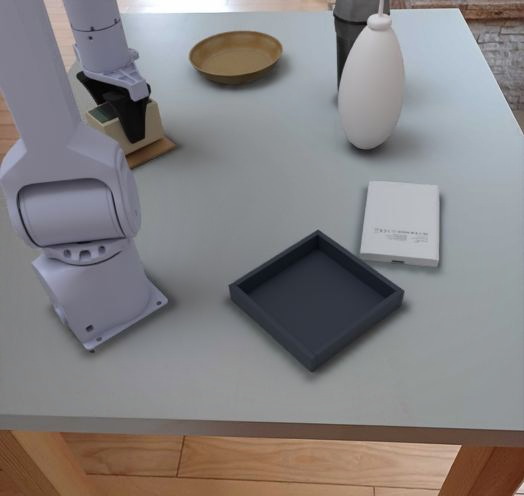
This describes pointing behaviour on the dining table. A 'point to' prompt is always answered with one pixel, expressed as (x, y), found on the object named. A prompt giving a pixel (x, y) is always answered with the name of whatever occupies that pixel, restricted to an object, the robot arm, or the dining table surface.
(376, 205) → the hard drive
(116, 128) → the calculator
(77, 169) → the robot arm
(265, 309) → the tray
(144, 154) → the coaster
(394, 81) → the sauce bottle
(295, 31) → the dining table surface
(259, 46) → the plant saucer
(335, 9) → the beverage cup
